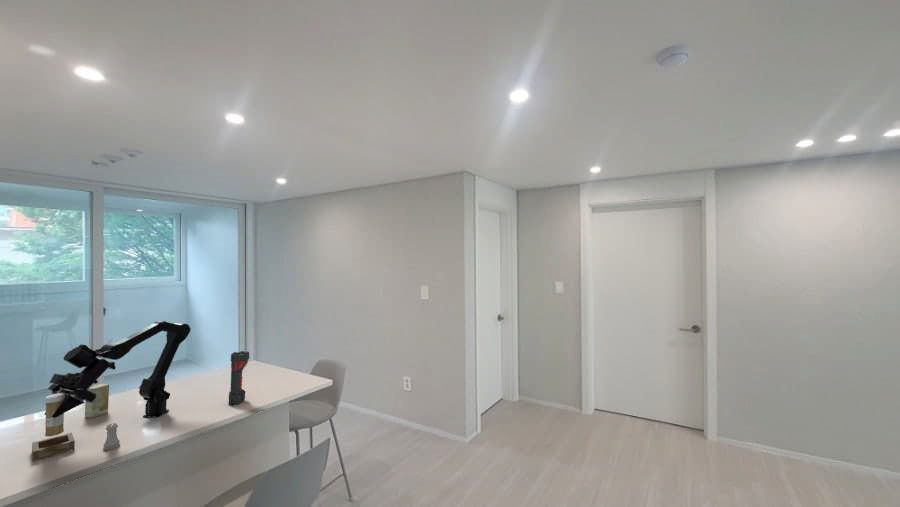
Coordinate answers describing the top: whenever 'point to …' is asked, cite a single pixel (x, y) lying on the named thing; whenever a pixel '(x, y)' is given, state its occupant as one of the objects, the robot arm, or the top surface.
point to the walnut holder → (53, 446)
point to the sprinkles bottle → (52, 404)
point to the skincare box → (98, 401)
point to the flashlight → (237, 376)
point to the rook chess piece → (111, 437)
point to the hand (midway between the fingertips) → (49, 416)
